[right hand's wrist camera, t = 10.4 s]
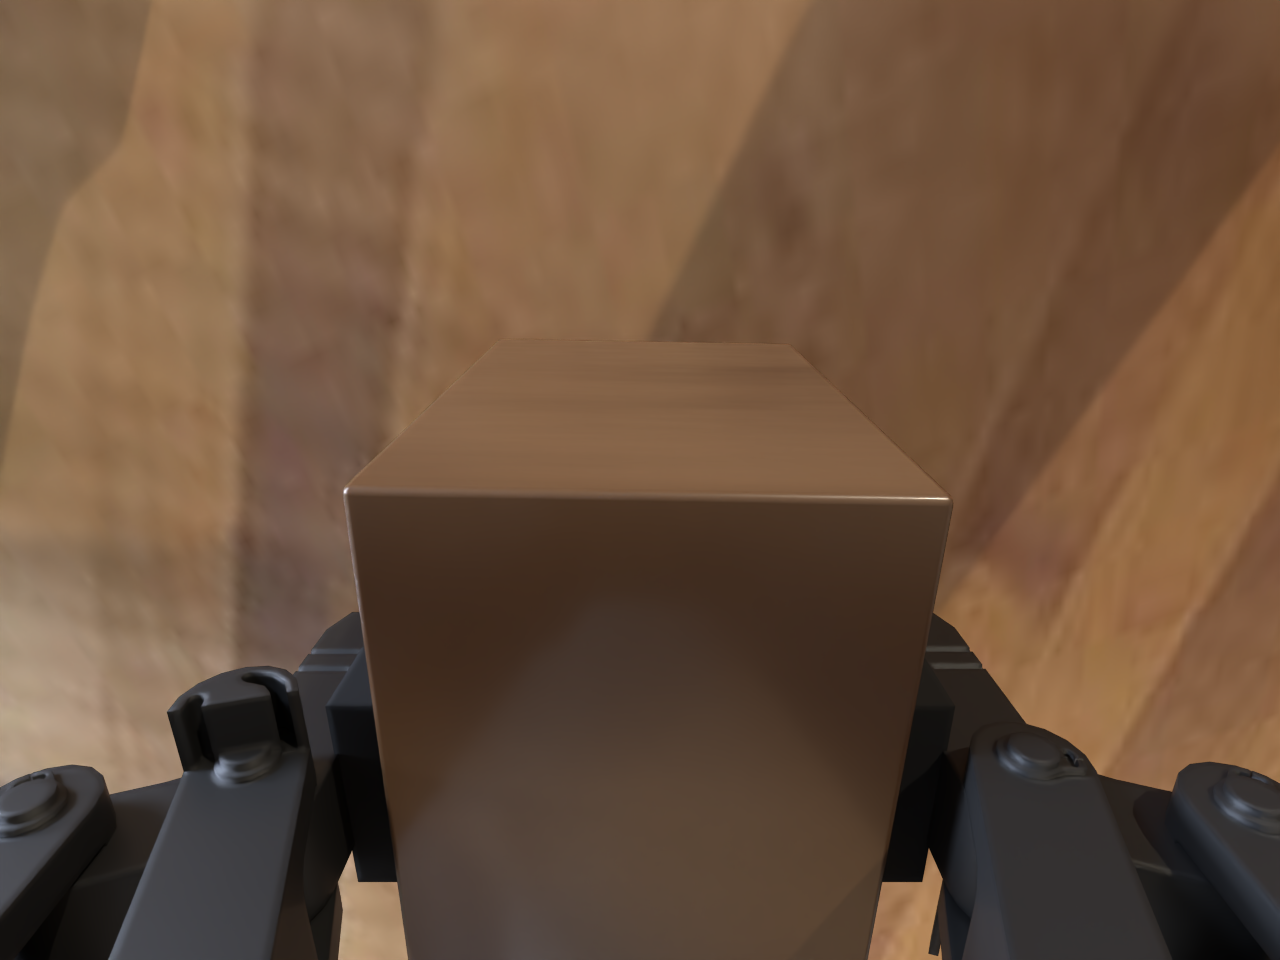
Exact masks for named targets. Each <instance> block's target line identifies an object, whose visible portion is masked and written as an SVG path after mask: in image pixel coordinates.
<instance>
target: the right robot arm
mask: <svg viewBox="0 0 1280 960" xmlns="http://www.w3.org/2000/svg"><path fill="white" fill-rule="evenodd" d="M311 651H312V652H311V654H308V655H307V657H306V658H305V659H304V661H303V662H302V664H301V665H300V666H299V671H296V672H295V673H294V674H293V675H292V674H291V673H289V672H288V671H287V670H285V669H280V668H276V667H271V666H258V667H245V668H241V669H237V670H233V671H229V672H225V673H221V674H219V675H217V676H214V677H212V678H210V679H207V680H205V681H203V682H201V683H198V684H197V685H195V686H194V687H193V688H191V689H190V690H188V691H187V692H185V693H184V694H183V695H181V696H180V697H179V698H178V699H177V700H176V701H175V703H174V704H173V705H172V706H171V708H170V709H169V710H168V711H167V714H168V718H169V721H170V725H171V728H172V732H173V735H174V739H175V742H176V746H177V749H178V753H179V756H180V760H181V763H182V767H183V770H184V773H183V775H182V778H179V779H175V780H172V781H168V782H164V783H160V784H155V785H151V786H146V787H142V788H137V789H133V790H128V791H124V792H120V793H115V794H111V795H109V792H108V789H107V786H106V783H105V780H104V777H103V775H102V774H100V773H99V772H98V771H96V770H95V769H94V768H92V767H87V766H79V765H67V766H60V767H54V768H47V769H44V770H41V771H37V772H33V773H32V774H28V775H25V776H23V777H20V778H17V779H15V780H13V781H12V782H10V783H8V784H6V785H4V786H2V787H0V960H338V953H339V943H340V932H341V922H342V912H343V909H342V902H341V896H340V891H339V886H338V880H339V878H340V876H341V874H342V872H343V869H344V867H345V865H346V863H347V860H348V858H349V856H350V854H351V851H353V857H354V862H355V867H356V872H357V878H358V882H397V875H396V868H395V861H394V854H393V847H392V840H391V833H390V826H389V818H388V811H387V804H386V797H385V790H384V783H383V776H382V769H381V762H380V754H379V747H378V740H377V733H376V726H375V719H374V712H373V705H372V698H371V691H370V683H369V676H368V669H367V662H366V655H365V648H364V641H363V634H362V627H361V619H360V612H352V613H350V614H349V615H347V616H346V617H344V618H343V619H342V620H340V621H339V622H337V623H336V624H334V625H333V626H331V627H330V628H328V629H327V630H326V631H325V632H324V634H323V635H322V637H321V638H320V639H319V641H318V642H317V643H316V645H315V646H314V647H313V649H312V650H311ZM928 849H930V851H931V853H932V856H933V858H934V860H935V862H936V865H937V867H938V869H939V871H940V873H941V876H942V878H943V881H942V886H941V891H940V896H939V900H938V905H937V910H936V915H935V920H934V925H933V930H932V935H931V941H930V947H929V953H928V954H932V955H936V956H938V954H939V949H940V944H941V951H942V960H1280V783H1278V782H1276V781H1274V780H1272V779H1270V778H1269V777H1267V776H1264V775H1262V774H1259V773H1257V772H1254V771H1250V770H1248V769H1245V768H1241V767H1238V766H1234V765H1228V764H1221V763H1215V762H1203V763H1195V764H1189V765H1188V766H1187V767H1185V768H1184V769H1183V770H1181V771H1180V772H1179V773H1178V776H1177V779H1176V782H1175V785H1174V788H1173V791H1172V792H1170V791H1166V790H1161V789H1157V788H1152V787H1148V786H1143V785H1138V784H1134V783H1129V782H1125V781H1120V780H1116V779H1112V778H1109V777H1105V776H1102V775H1099V774H1097V772H1096V770H1095V768H1094V767H1093V766H1092V764H1091V763H1090V761H1089V760H1088V758H1087V757H1086V755H1085V754H1083V753H1082V752H1081V751H1080V750H1078V749H1077V748H1076V747H1075V746H1073V745H1072V744H1071V743H1070V742H1068V741H1067V740H1065V739H1063V738H1061V737H1059V736H1057V735H1055V734H1053V733H1051V732H1049V731H1047V730H1045V729H1042V728H1039V727H1035V726H1032V725H1028V724H1026V723H1025V721H1024V720H1023V719H1022V717H1021V716H1020V715H1019V713H1018V712H1017V711H1016V709H1015V708H1014V707H1013V705H1012V704H1011V703H1010V701H1009V700H1008V699H1007V697H1006V696H1005V695H1004V693H1003V692H1002V691H1001V689H1000V688H999V687H998V685H997V684H996V683H995V681H994V680H993V678H992V677H991V676H990V674H989V673H988V672H987V670H986V669H982V664H981V662H980V661H979V660H978V658H977V657H976V656H975V654H974V653H973V652H970V650H969V646H968V645H967V644H966V642H965V641H964V640H963V638H962V637H961V636H960V634H959V633H958V632H957V630H956V629H955V628H954V627H953V626H951V625H950V624H949V623H947V622H946V621H944V620H943V619H941V618H940V617H938V616H937V615H935V614H934V613H933V615H932V620H931V625H930V631H929V636H928V641H927V646H926V652H925V657H924V662H923V668H922V673H921V678H920V684H919V689H918V694H917V700H916V705H915V710H914V715H913V721H912V726H911V731H910V737H909V742H908V747H907V753H906V758H905V763H904V768H903V774H902V779H901V784H900V790H899V795H898V800H897V806H896V811H895V816H894V821H893V827H892V832H891V837H890V843H889V848H888V853H887V859H886V864H885V869H884V874H883V880H882V882H922V880H923V875H924V870H925V865H926V859H927V854H928Z"/></svg>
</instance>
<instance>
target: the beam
mask: <svg viewBox="0 0 1280 960" xmlns="http://www.w3.org/2000/svg"><path fill="white" fill-rule="evenodd" d="M343 499H344V506H345V513H346V520H347V527H348V534H349V541H350V548H351V556H352V563H353V570H354V577H355V584H356V591H357V598H358V605H359V612H360V619H361V627H362V634H363V641H364V648H365V655H366V662H367V669H368V676H369V683H370V691H371V698H372V705H373V712H374V719H375V726H376V733H377V740H378V747H379V754H380V762H381V769H382V776H383V783H384V790H385V797H386V804H387V811H388V818H389V826H390V833H391V840H392V847H393V854H394V861H395V868H396V875H397V882H398V890H399V897H400V904H401V911H402V918H403V925H404V932H405V939H406V946H407V953H408V960H867V959H868V954H869V949H870V943H871V938H872V933H873V927H874V922H875V917H876V912H877V906H878V901H879V896H880V890H881V885H882V880H883V874H884V869H885V864H886V859H887V853H888V848H889V843H890V837H891V832H892V827H893V821H894V816H895V811H896V806H897V800H898V795H899V790H900V784H901V779H902V774H903V768H904V763H905V758H906V753H907V747H908V742H909V737H910V731H911V726H912V721H913V715H914V710H915V705H916V700H917V694H918V689H919V684H920V678H921V673H922V668H923V662H924V657H925V652H926V646H927V641H928V636H929V631H930V625H931V620H932V615H933V609H934V604H935V599H936V593H937V588H938V583H939V578H940V572H941V567H942V562H943V556H944V551H945V546H946V540H947V535H948V530H949V525H950V519H951V514H952V509H953V501H952V497H951V496H950V495H949V494H948V493H947V492H946V491H945V490H944V489H943V488H942V487H941V486H940V485H939V484H938V483H936V482H935V481H934V480H933V479H932V478H931V477H930V476H929V475H928V474H927V473H926V472H925V471H924V470H923V469H922V468H921V467H920V466H918V465H917V464H916V463H915V462H914V461H913V460H912V459H911V458H910V457H909V456H908V455H907V454H906V453H905V452H904V451H903V450H902V449H900V448H899V447H898V446H897V445H896V444H895V443H894V442H893V441H892V440H891V439H890V438H889V437H888V436H887V435H886V434H885V433H884V432H882V431H881V430H880V429H879V428H878V427H877V426H876V425H875V424H874V423H873V422H872V421H871V420H870V419H869V418H868V417H867V416H866V415H864V414H863V413H862V412H861V411H860V410H859V409H858V408H857V407H856V406H855V405H854V404H853V403H852V402H851V401H850V400H849V399H848V398H846V397H845V396H844V395H843V394H842V393H841V392H840V391H839V390H838V389H837V388H836V387H835V386H834V385H833V384H832V383H831V382H830V381H828V380H827V379H826V378H825V377H824V376H823V375H822V374H821V373H820V372H819V371H818V370H817V369H816V368H815V367H814V366H813V365H812V364H810V363H809V362H808V361H807V360H806V359H805V358H804V357H803V356H802V355H801V354H800V353H799V352H798V351H797V350H796V349H795V348H794V347H792V346H791V345H789V344H758V343H703V342H647V341H592V340H537V339H500V340H498V341H497V342H496V343H495V344H494V345H493V346H492V347H491V348H490V349H489V350H488V351H487V352H485V353H484V354H483V355H482V356H481V357H480V358H479V359H478V360H477V361H476V362H475V363H474V364H473V365H472V366H471V367H470V368H469V369H468V370H467V371H465V372H464V373H463V374H462V375H461V376H460V377H459V378H458V379H457V380H456V381H455V382H454V383H453V384H452V385H451V386H450V387H449V388H448V389H447V390H445V391H444V392H443V393H442V394H441V395H440V396H439V397H438V398H437V399H436V400H435V401H434V402H433V403H432V404H431V405H430V406H429V407H428V408H427V409H426V410H424V411H423V412H422V413H421V414H420V415H419V416H418V417H417V418H416V419H415V420H414V421H413V422H412V423H411V424H410V425H409V426H408V427H407V428H406V429H404V430H403V431H402V432H401V433H400V434H399V435H398V436H397V437H396V438H395V439H394V440H393V441H392V442H391V443H390V444H389V445H388V446H387V447H386V448H384V449H383V450H382V451H381V452H380V453H379V454H378V455H377V456H376V457H375V458H374V459H373V460H372V461H371V462H370V463H369V464H368V465H367V466H366V467H364V468H363V469H362V470H361V471H360V472H359V473H358V474H357V475H356V476H355V477H354V478H353V479H352V480H351V481H350V482H349V483H348V484H347V485H346V486H345V487H344V490H343Z"/></svg>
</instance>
